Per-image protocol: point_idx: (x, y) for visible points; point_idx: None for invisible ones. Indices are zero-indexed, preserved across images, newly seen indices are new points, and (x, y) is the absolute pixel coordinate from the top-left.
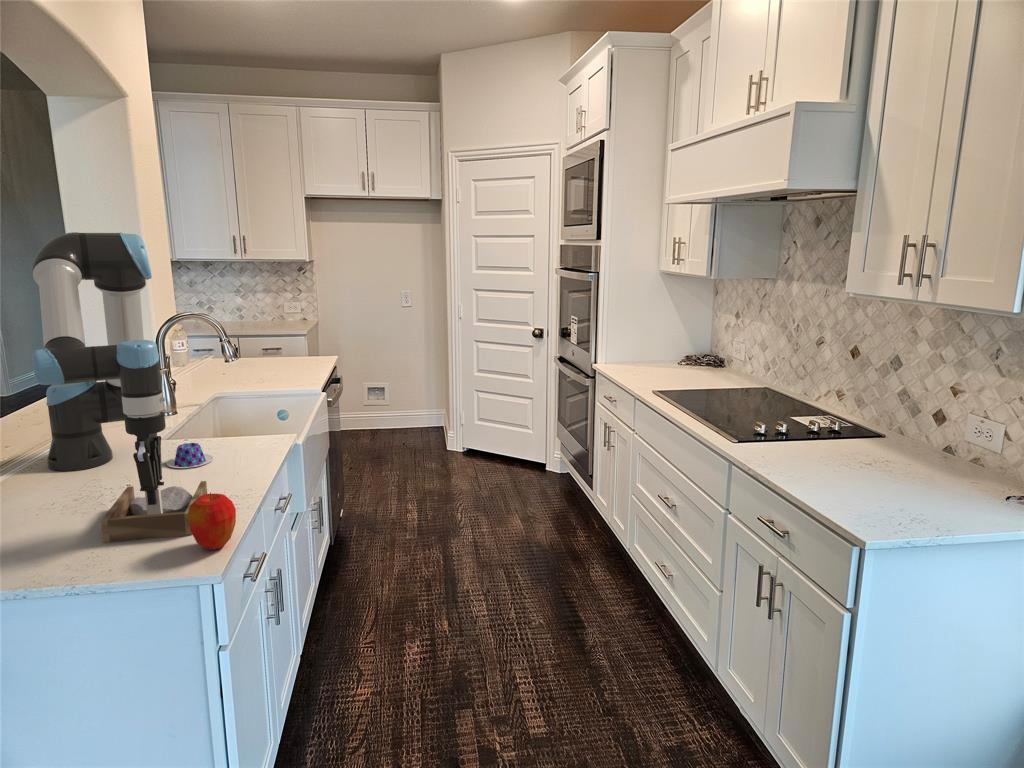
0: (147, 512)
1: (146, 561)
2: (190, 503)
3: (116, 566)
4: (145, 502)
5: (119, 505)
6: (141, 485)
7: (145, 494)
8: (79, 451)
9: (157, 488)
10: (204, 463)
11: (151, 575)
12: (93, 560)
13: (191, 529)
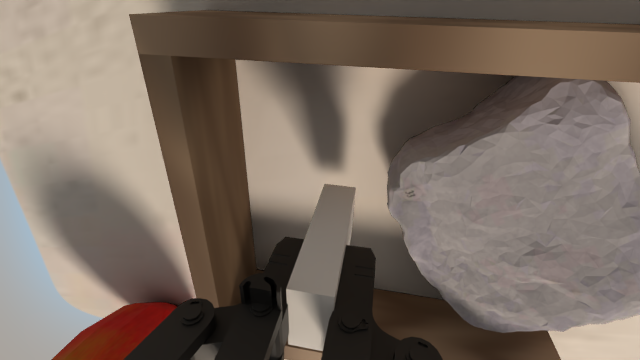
0: (319, 199)
1: (84, 184)
2: (301, 351)
3: (43, 109)
4: (490, 172)
5: (387, 66)
6: (144, 346)
7: (295, 266)
8: None
9: (301, 341)
10: None
11: (22, 202)
12: (65, 16)
13: (77, 339)
